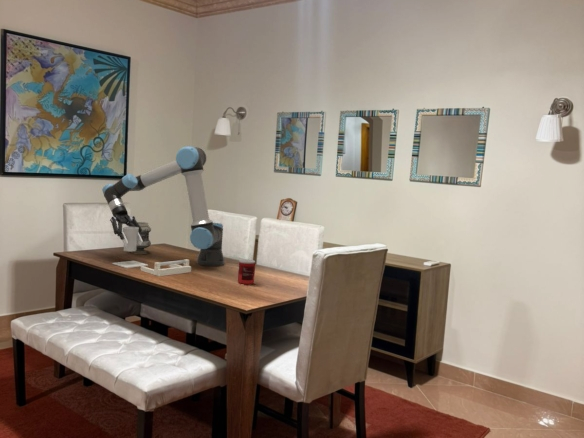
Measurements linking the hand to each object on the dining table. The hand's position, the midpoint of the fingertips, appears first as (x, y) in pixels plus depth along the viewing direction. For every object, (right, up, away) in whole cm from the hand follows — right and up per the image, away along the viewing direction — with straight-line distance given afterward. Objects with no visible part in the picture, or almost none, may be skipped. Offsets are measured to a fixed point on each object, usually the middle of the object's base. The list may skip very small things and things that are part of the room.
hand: (133, 243), depth 279 cm
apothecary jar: (-8, -7, +40) cm, 42 cm away
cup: (-3, -4, +3) cm, 6 cm away
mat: (-3, -11, +3) cm, 12 cm away
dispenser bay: (+18, -14, -7) cm, 24 cm away
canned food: (+60, -18, -22) cm, 66 cm away
